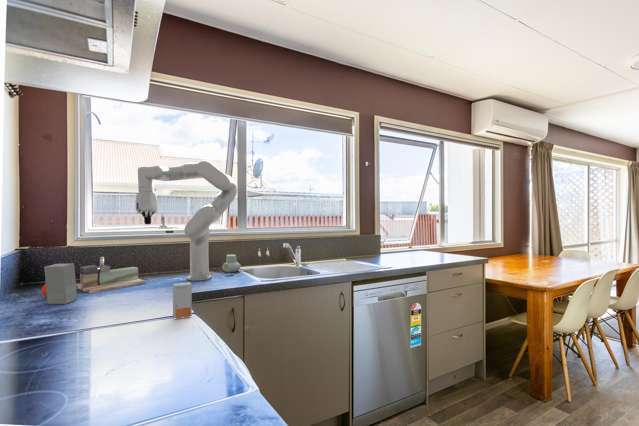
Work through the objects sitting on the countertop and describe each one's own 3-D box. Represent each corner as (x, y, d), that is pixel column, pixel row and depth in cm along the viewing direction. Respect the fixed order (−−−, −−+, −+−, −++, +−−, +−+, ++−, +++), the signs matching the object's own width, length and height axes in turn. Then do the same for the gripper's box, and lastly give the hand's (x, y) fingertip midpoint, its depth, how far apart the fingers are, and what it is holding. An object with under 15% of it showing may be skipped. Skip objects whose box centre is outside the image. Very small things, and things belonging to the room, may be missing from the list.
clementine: (60, 298, 151) (60, 282, 151) (40, 301, 147) (39, 284, 147) (62, 294, 158) (62, 278, 157) (43, 296, 154) (42, 280, 154)
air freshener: (242, 271, 212) (242, 255, 212) (231, 273, 205) (231, 256, 205) (231, 269, 219) (231, 253, 218) (220, 271, 212) (220, 255, 212)
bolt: (107, 270, 173) (107, 256, 172) (84, 274, 165) (83, 258, 165) (105, 270, 174) (105, 256, 174) (82, 273, 166) (82, 258, 166)
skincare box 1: (77, 300, 148) (77, 262, 148) (63, 305, 141) (63, 265, 141) (59, 299, 149) (58, 262, 149) (44, 304, 142) (43, 265, 142)
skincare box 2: (173, 320, 123) (173, 285, 122) (172, 316, 127) (172, 283, 126) (192, 317, 126) (191, 284, 125) (190, 314, 129) (190, 281, 129)
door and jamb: (145, 283, 179) (145, 262, 179) (90, 293, 160) (89, 269, 159) (129, 279, 190) (128, 258, 190) (75, 287, 171) (75, 265, 170)
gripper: (155, 190, 198) (157, 223, 198) (128, 190, 186) (130, 225, 186) (163, 190, 193) (164, 223, 194) (136, 189, 181) (137, 225, 182)
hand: (147, 224), depth 190 cm, fingers closed
